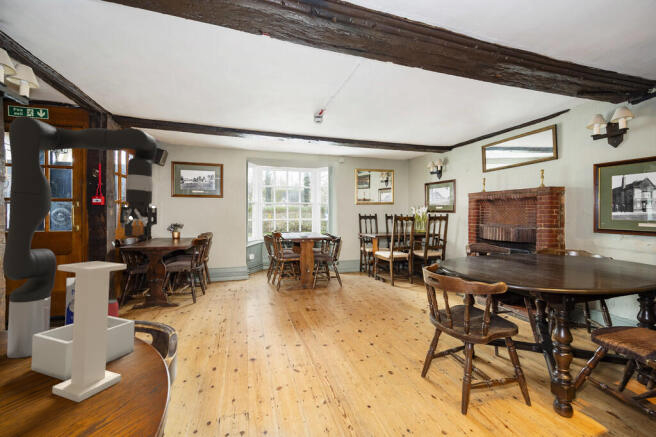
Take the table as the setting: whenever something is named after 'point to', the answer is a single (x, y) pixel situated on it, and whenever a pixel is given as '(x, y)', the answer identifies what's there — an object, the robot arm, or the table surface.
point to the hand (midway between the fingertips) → (137, 236)
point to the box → (57, 346)
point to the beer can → (113, 308)
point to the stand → (89, 331)
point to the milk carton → (70, 301)
